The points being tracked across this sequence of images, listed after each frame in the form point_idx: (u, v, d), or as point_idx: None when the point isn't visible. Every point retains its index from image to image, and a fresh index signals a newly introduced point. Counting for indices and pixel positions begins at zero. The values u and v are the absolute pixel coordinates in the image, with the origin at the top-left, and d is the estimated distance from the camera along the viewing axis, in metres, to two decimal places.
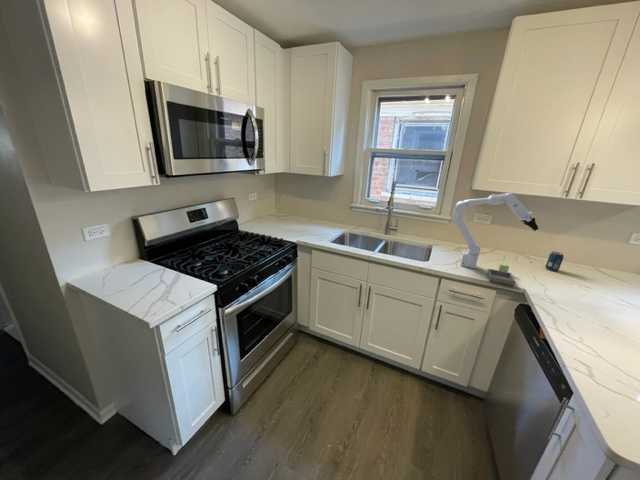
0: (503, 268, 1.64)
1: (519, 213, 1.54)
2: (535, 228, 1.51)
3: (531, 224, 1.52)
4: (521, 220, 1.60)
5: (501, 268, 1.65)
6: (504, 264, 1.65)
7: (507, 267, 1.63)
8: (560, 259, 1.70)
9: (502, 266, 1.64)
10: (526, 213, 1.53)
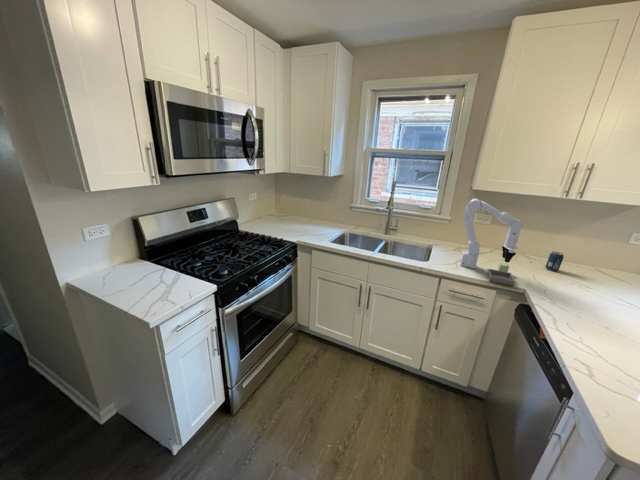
0: (503, 268, 1.64)
1: (510, 241, 1.58)
2: (507, 260, 1.60)
3: (508, 255, 1.59)
4: (502, 247, 1.66)
5: (501, 268, 1.65)
6: (504, 264, 1.65)
7: (507, 267, 1.63)
8: (560, 259, 1.70)
9: (502, 266, 1.64)
10: (514, 245, 1.58)
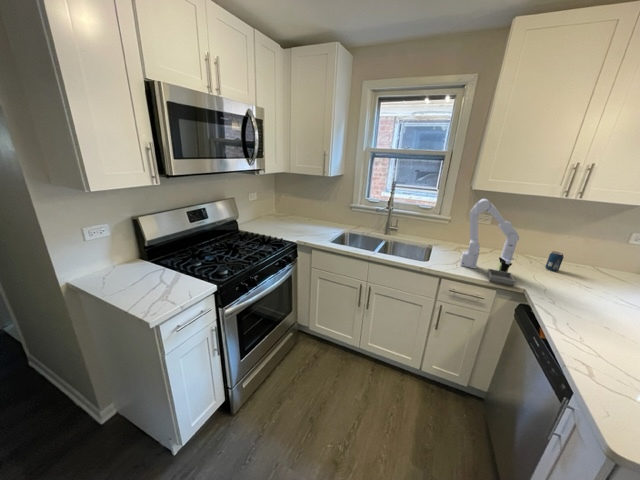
0: None
1: (506, 253, 1.61)
2: (503, 270, 1.64)
3: (504, 266, 1.63)
4: (500, 258, 1.68)
5: None
6: None
7: None
8: (560, 259, 1.70)
9: None
10: (510, 256, 1.61)
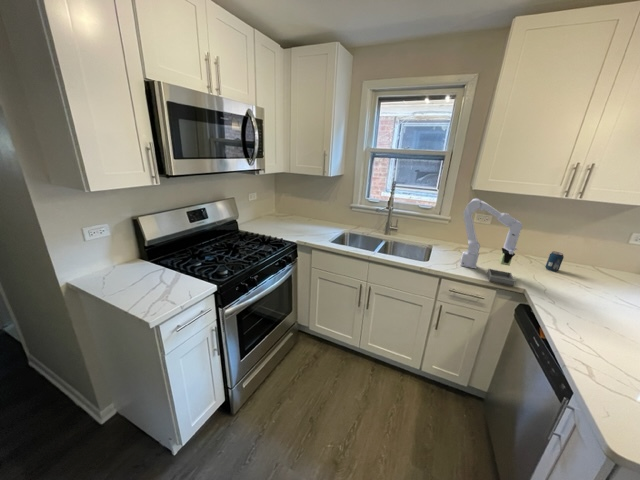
0: None
1: (509, 243, 1.58)
2: (506, 261, 1.61)
3: (507, 256, 1.60)
4: (502, 249, 1.65)
5: None
6: None
7: None
8: (560, 259, 1.70)
9: None
10: (513, 247, 1.58)
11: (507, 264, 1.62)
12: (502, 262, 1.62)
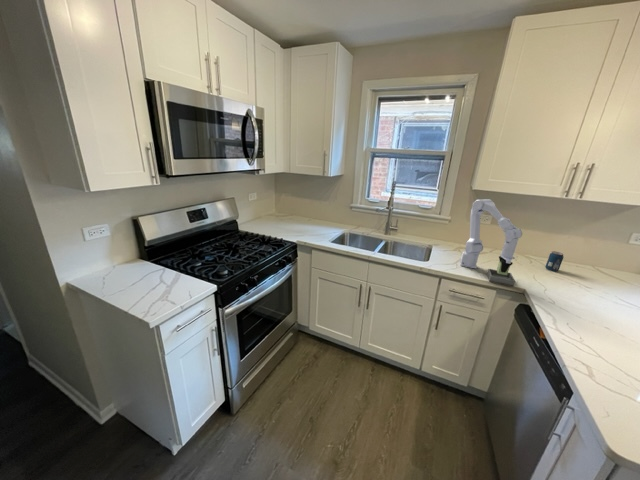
0: None
1: (506, 251, 1.50)
2: (503, 270, 1.53)
3: (504, 265, 1.52)
4: (499, 257, 1.56)
5: None
6: None
7: None
8: (560, 259, 1.70)
9: None
10: (511, 255, 1.49)
11: (504, 273, 1.53)
12: (499, 271, 1.54)
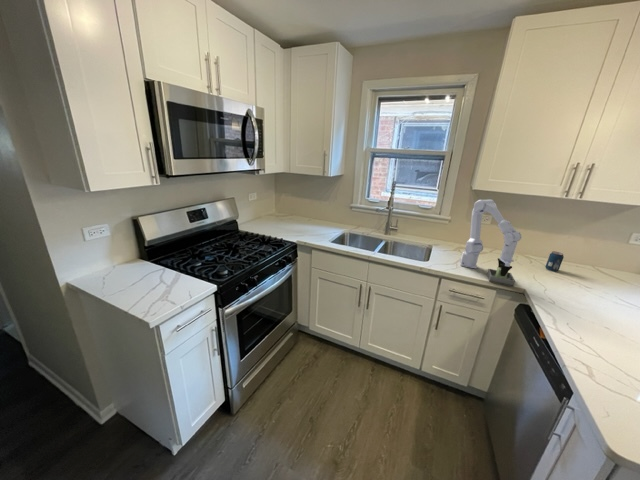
0: None
1: (505, 254, 1.50)
2: (503, 274, 1.52)
3: (504, 269, 1.51)
4: (498, 259, 1.58)
5: (499, 273, 1.54)
6: None
7: None
8: (560, 259, 1.70)
9: None
10: (510, 258, 1.50)
11: None
12: None
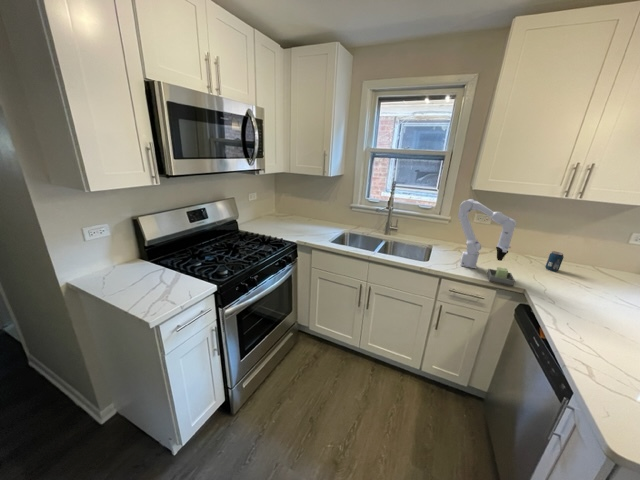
0: (502, 273, 1.54)
1: (503, 241, 1.57)
2: (499, 258, 1.61)
3: (500, 254, 1.60)
4: (497, 248, 1.63)
5: (499, 273, 1.54)
6: (503, 269, 1.55)
7: (506, 272, 1.53)
8: (560, 259, 1.70)
9: (501, 271, 1.54)
10: (507, 245, 1.57)
11: None
12: None
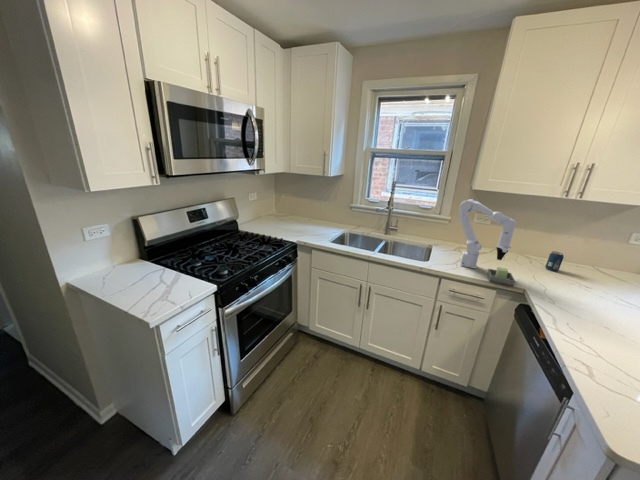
0: (502, 273, 1.54)
1: (503, 241, 1.57)
2: (499, 258, 1.62)
3: (500, 253, 1.61)
4: (497, 248, 1.62)
5: (499, 273, 1.54)
6: (503, 269, 1.55)
7: (506, 272, 1.53)
8: (560, 259, 1.70)
9: (501, 271, 1.54)
10: (507, 245, 1.57)
11: None
12: None
